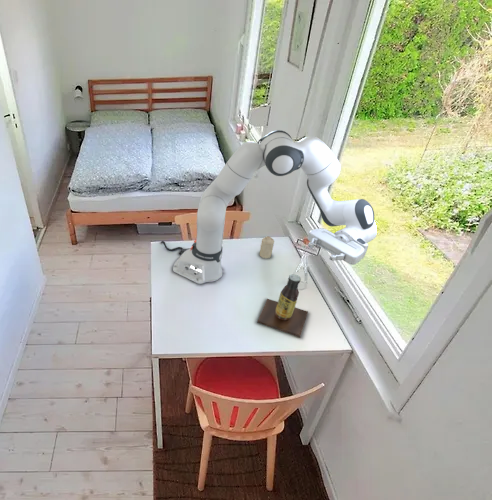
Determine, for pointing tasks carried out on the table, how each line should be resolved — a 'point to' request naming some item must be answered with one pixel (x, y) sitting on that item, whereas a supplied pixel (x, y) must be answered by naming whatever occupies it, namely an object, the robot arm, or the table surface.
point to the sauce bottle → (288, 298)
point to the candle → (266, 247)
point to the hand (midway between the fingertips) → (320, 252)
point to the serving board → (287, 326)
